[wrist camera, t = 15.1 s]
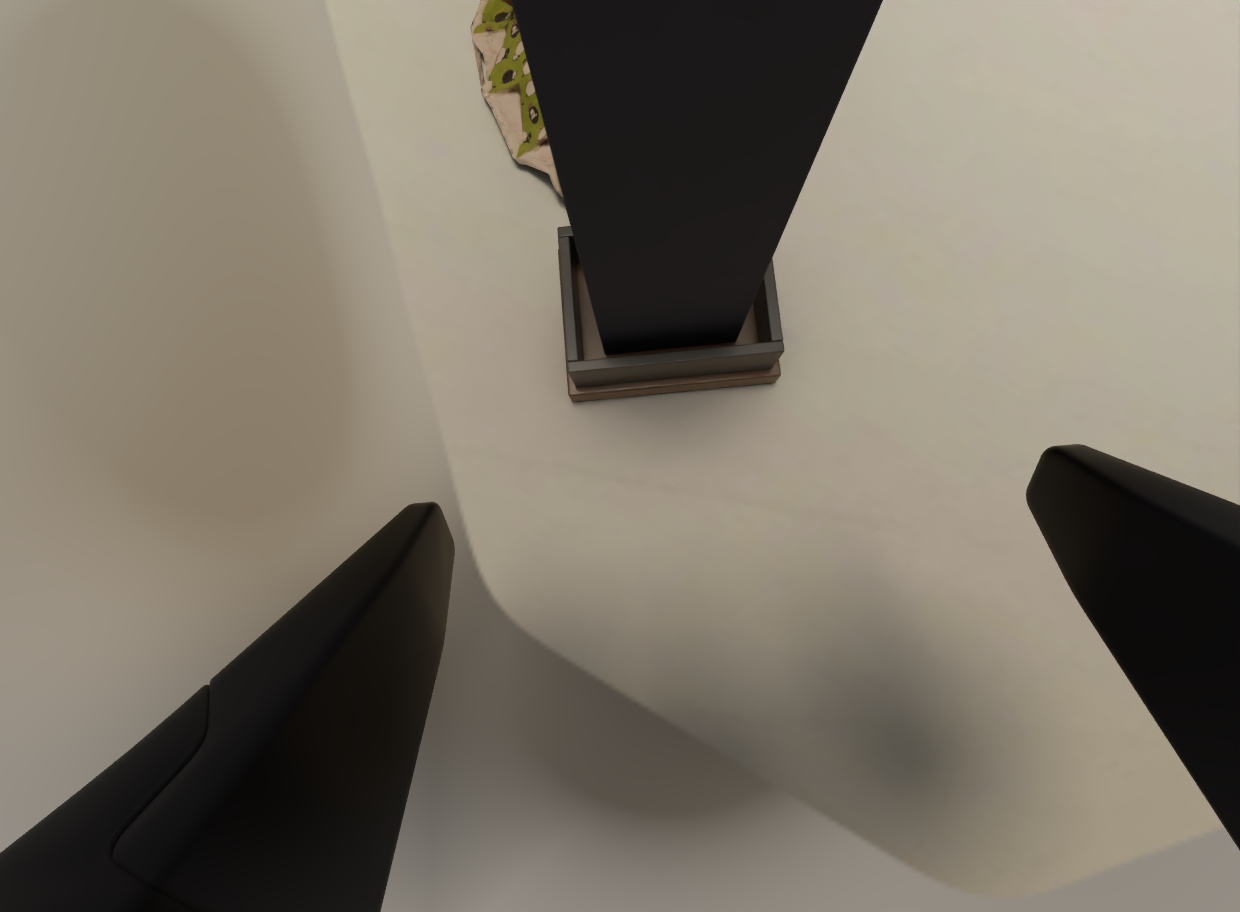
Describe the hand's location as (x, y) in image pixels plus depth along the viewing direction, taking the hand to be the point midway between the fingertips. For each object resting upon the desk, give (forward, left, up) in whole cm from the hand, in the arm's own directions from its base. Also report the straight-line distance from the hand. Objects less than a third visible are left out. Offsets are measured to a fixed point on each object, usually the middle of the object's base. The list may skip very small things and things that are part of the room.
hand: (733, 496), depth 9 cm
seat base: (+8, +1, -13) cm, 15 cm away
